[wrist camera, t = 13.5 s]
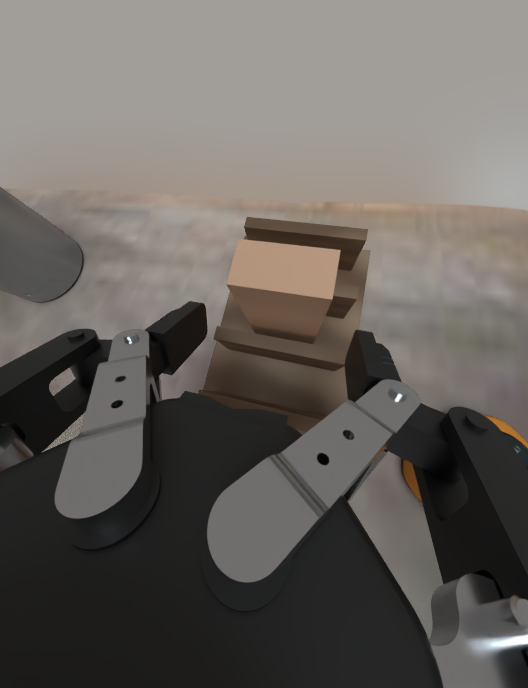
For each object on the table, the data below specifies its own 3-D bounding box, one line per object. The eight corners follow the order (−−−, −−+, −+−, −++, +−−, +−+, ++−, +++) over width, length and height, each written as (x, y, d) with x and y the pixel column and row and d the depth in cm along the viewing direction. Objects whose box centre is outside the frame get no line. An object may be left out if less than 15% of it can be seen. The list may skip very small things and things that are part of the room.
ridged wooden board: (337, 447, 20) (356, 470, 14) (202, 412, 22) (171, 419, 16) (365, 259, 23) (390, 215, 18) (247, 244, 25) (234, 201, 20)
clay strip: (310, 348, 20) (332, 299, 10) (258, 338, 21) (226, 284, 11) (315, 322, 21) (340, 249, 10) (264, 314, 22) (238, 238, 11)
